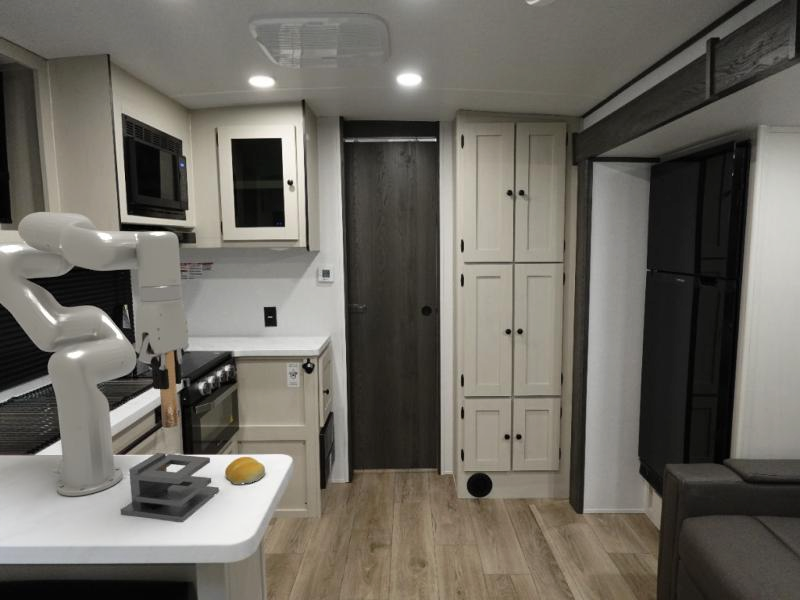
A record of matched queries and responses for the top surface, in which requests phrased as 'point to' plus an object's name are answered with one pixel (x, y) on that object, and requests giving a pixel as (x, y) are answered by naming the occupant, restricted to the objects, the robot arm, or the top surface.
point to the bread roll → (244, 470)
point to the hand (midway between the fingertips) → (167, 385)
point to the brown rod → (169, 395)
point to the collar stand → (168, 488)
